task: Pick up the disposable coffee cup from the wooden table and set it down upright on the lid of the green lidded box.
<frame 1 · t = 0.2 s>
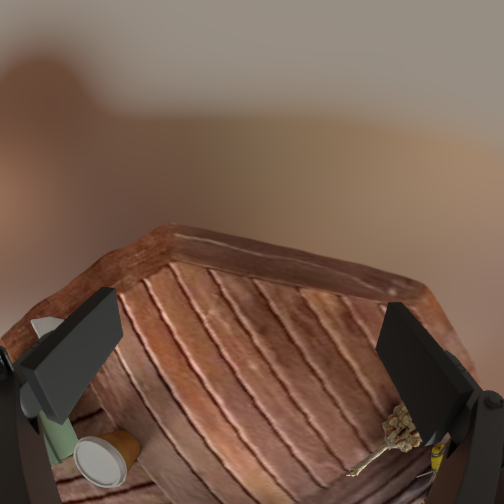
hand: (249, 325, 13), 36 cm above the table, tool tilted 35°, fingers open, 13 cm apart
white gable carton: (70, 339, 46), on the table
disposable coffee cup: (126, 444, 40), on the table
green lidded box: (42, 414, 40), on the table
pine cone: (386, 430, 41), on the table
sprinkler: (431, 480, 35), on the table
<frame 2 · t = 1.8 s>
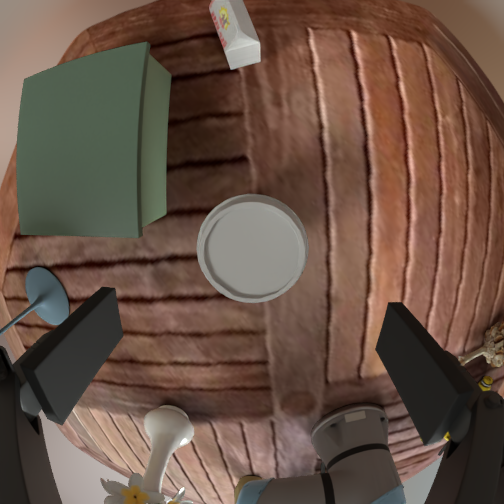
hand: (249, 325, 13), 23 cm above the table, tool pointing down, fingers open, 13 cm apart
white gable carton: (237, 44, 28), on the table
disposable coffee cup: (254, 224, 35), on the table
green lidded box: (111, 146, 32), on the table
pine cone: (482, 334, 39), on the table
flower vase: (176, 416, 45), on the table
cocktail glass: (47, 296, 39), on the table
squeeze bottle: (251, 479, 52), on the table
sprinkler: (459, 406, 45), on the table
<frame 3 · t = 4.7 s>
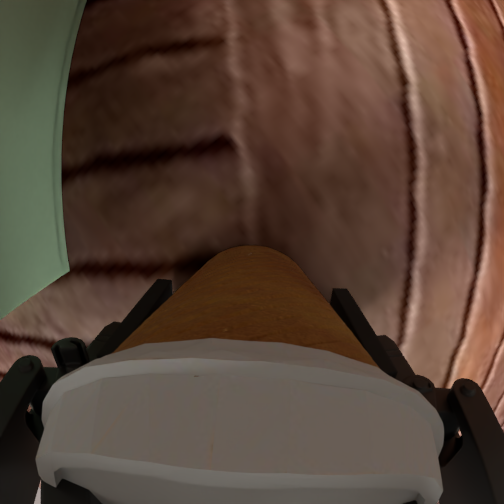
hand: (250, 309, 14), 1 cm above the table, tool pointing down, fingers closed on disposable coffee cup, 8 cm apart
disposable coffee cup: (251, 301, 15), on the table, touching gripper
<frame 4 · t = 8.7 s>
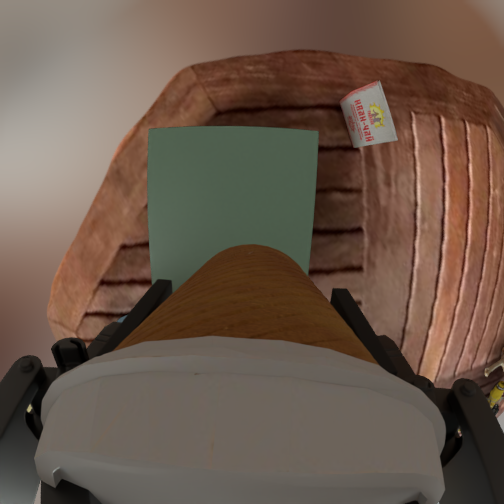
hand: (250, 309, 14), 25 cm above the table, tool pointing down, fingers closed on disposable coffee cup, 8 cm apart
white gable carton: (357, 122, 34), on the table
disposable coffee cup: (251, 300, 15), point 24 cm above the table, touching gripper
green lidded box: (236, 207, 38), on the table
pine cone: (500, 349, 45), on the table
sprinkler: (478, 406, 51), on the table
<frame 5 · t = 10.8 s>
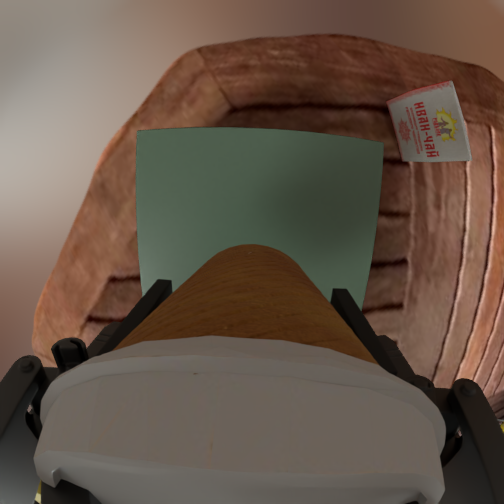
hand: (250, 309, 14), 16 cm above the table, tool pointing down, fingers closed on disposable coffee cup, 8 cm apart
white gable carton: (407, 129, 26), on the table
disposable coffee cup: (251, 300, 15), point 15 cm above the table, touching gripper
green lidded box: (256, 234, 29), on the table
when the fingers open (11 cm above the table, at t = 12.6 s): disposable coffee cup stays where it is, resting on green lidded box.
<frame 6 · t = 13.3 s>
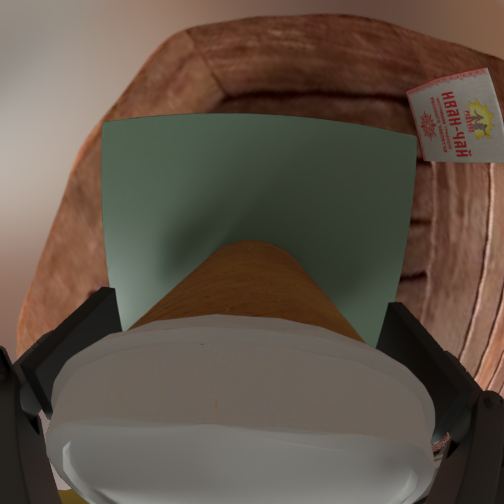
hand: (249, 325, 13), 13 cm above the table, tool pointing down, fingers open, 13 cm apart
white gable carton: (429, 124, 21), on the table
disposable coffee cup: (251, 295, 16), point 10 cm above the table, touching green lidded box
green lidded box: (254, 246, 25), on the table
cocktail glass: (128, 403, 32), on the table
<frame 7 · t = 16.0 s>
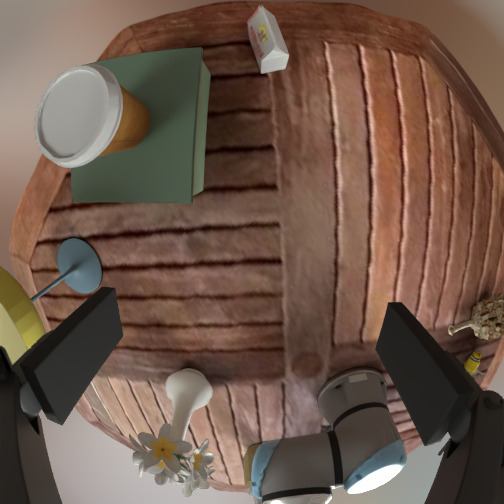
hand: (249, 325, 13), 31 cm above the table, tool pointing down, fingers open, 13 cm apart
white gable carton: (266, 53, 35), on the table
disposable coffee cup: (127, 124, 29), point 10 cm above the table, touching green lidded box
green lidded box: (154, 131, 38), on the table
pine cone: (470, 310, 47), on the table
flower vase: (195, 380, 53), on the table
cocktail glass: (79, 265, 46), on the table
squeeze bottle: (259, 448, 61), on the table
sprinkler: (451, 380, 54), on the table
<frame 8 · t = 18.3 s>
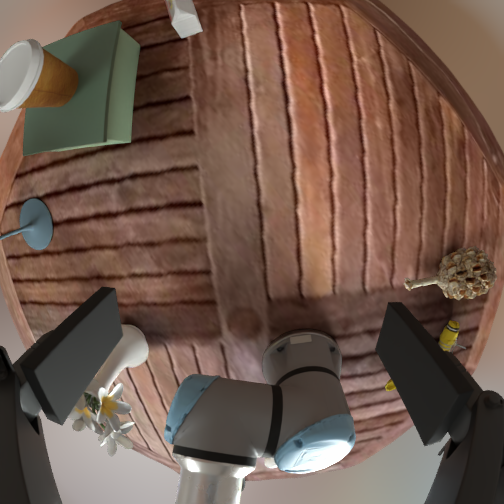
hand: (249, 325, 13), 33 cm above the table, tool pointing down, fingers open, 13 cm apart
white gable carton: (188, 21, 35), on the table
disposable coffee cup: (63, 87, 29), point 10 cm above the table, touching green lidded box
green lidded box: (95, 97, 38), on the table
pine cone: (437, 268, 46), on the table
flower vase: (135, 338, 52), on the table
cocktail glass: (36, 224, 46), on the table
sprinkler: (427, 355, 52), on the table
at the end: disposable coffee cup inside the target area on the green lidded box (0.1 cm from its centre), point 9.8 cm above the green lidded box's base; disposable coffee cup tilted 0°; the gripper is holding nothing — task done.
